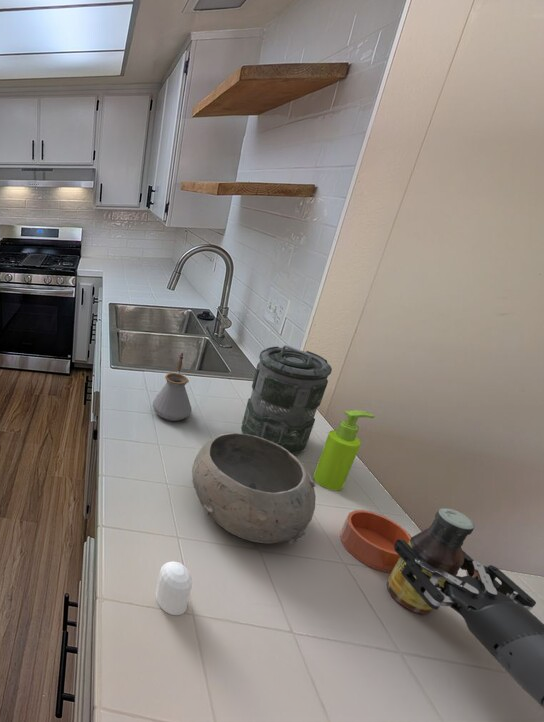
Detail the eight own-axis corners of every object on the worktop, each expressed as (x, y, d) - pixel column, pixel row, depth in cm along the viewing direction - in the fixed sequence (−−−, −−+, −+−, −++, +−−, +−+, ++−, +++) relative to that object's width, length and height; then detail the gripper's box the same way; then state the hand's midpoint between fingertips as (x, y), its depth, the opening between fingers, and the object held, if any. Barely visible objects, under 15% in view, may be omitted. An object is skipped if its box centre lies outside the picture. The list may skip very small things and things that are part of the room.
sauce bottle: (386, 574, 72) (429, 493, 64) (432, 598, 68) (484, 515, 60) (382, 599, 68) (427, 515, 60) (431, 626, 63) (486, 540, 56)
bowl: (169, 477, 95) (178, 427, 89) (257, 471, 97) (271, 422, 91) (220, 564, 74) (236, 506, 68) (330, 554, 75) (355, 497, 70)
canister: (317, 447, 105) (350, 355, 94) (281, 465, 99) (311, 368, 88) (263, 417, 118) (286, 333, 107) (228, 431, 112) (249, 343, 101)
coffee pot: (188, 428, 113) (196, 384, 107) (148, 419, 118) (154, 376, 112) (193, 394, 131) (201, 354, 125) (159, 387, 135) (164, 348, 129)
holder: (400, 542, 78) (409, 524, 76) (411, 583, 70) (422, 564, 68) (338, 519, 83) (345, 502, 81) (341, 555, 75) (350, 537, 73)
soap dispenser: (353, 490, 91) (383, 420, 83) (323, 490, 91) (351, 420, 83) (335, 473, 96) (362, 405, 88) (307, 472, 96) (332, 405, 88)
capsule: (151, 585, 70) (156, 555, 67) (179, 583, 70) (186, 553, 67) (162, 616, 65) (168, 585, 62) (192, 614, 65) (200, 582, 62)
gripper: (607, 640, 48) (475, 529, 63) (487, 633, 49) (385, 525, 64) (574, 674, 51) (456, 560, 66) (462, 668, 52) (370, 556, 67)
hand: (421, 543), depth 65 cm, fingers open, 7 cm apart
